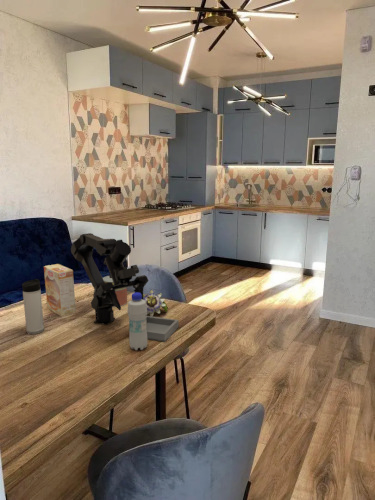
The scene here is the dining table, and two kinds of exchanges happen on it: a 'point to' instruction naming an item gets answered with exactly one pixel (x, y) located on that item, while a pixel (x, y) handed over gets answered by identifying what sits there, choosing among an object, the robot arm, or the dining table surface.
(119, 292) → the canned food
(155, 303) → the passion flower
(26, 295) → the travel mug
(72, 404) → the dining table surface
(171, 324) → the open box
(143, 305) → the bottle
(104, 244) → the robot arm
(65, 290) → the coffeecake box
